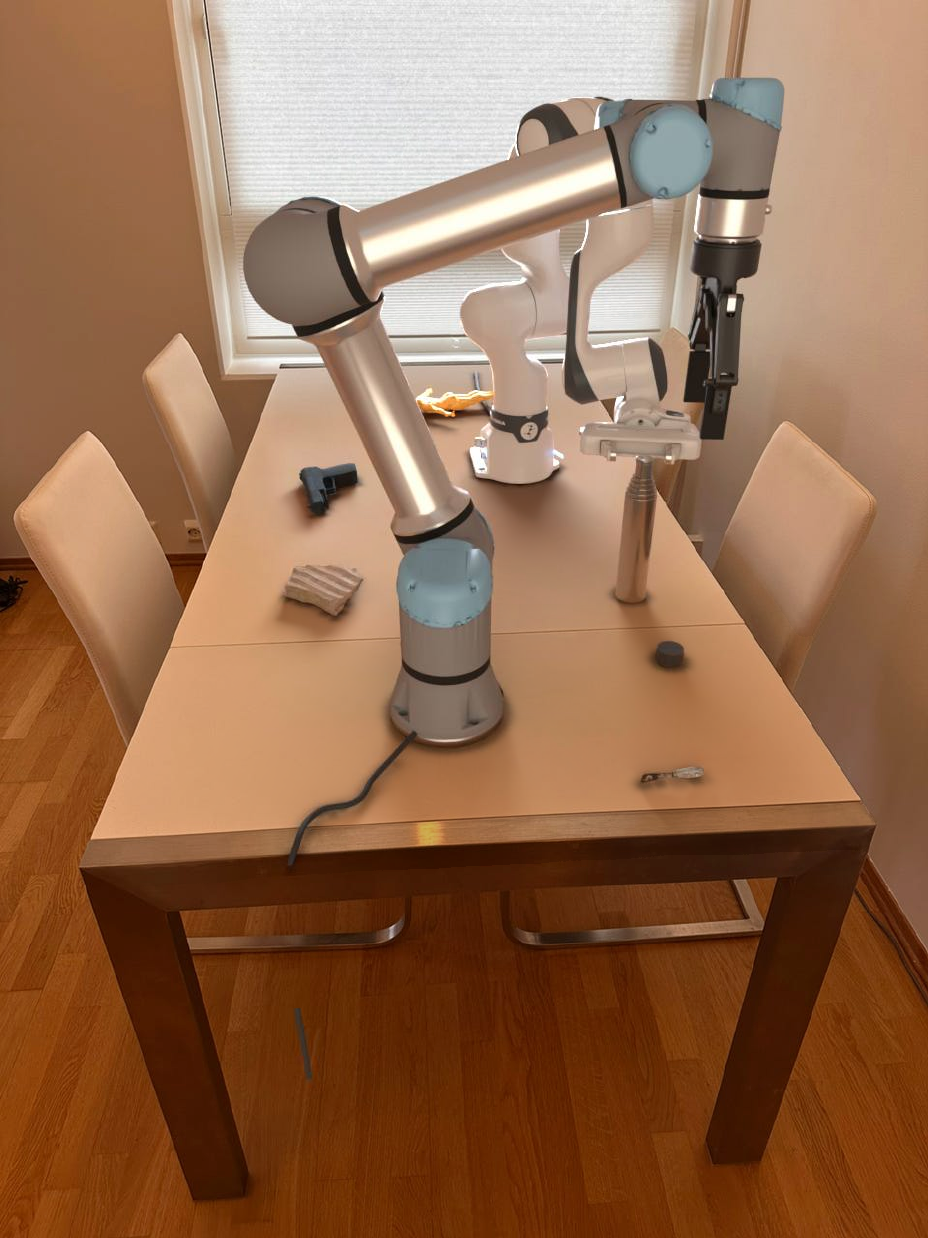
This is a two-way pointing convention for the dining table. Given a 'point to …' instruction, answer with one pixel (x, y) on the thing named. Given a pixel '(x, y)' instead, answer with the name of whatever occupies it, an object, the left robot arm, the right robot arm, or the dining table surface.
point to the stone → (323, 586)
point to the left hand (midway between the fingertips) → (702, 419)
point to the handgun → (325, 483)
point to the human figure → (450, 401)
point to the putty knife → (674, 774)
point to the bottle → (637, 532)
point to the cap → (669, 654)
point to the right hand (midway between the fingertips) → (640, 458)
